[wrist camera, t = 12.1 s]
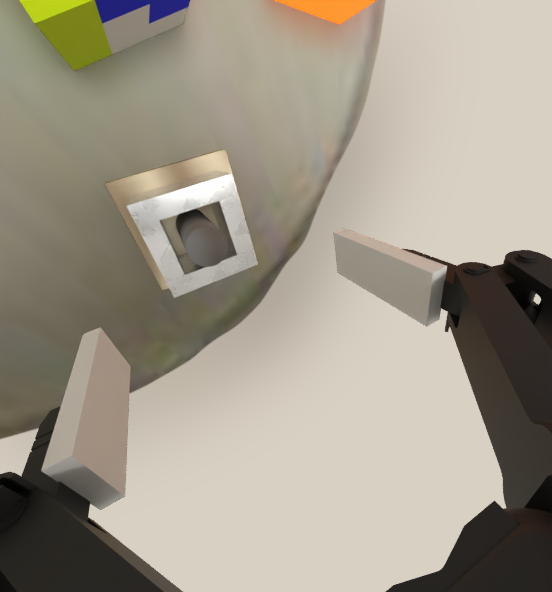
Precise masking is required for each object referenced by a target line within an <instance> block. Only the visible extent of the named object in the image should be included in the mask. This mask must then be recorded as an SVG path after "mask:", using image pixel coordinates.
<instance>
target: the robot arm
mask: <svg viewBox="0 0 552 592" xmlns="http://www.w3.org/2000/svg"><path fill="white" fill-rule="evenodd" d="M334 242H335V252H336V262H337V271H338V273H339V274H341V275H342V276H344V277H346V278H347V279H349V280H351V281H352V282H354V283H356V284H357V285H359V286H361V287H362V288H364V289H366V290H367V291H369V292H370V293H372V294H374V295H376V296H377V297H379V298H380V299H382V300H384V301H385V302H387V303H389V304H390V305H392V306H394V307H396V308H397V309H399V310H401V311H402V312H404V313H405V314H407V315H408V316H410V317H412V318H413V319H415V320H417V321H418V322H420V323H422V324H423V325H425V326H428V325H430V324H432V323H434V322H435V321H437V320H439V317H440V311H441V308H442V309H444V310H446V311H448V315H447V320H446V326H445V332H448V329H449V327H450V328H451V330H452V333H453V336H454V339H455V342H456V344H457V347H458V350H459V353H460V356H461V359H462V362H463V364H464V367H465V370H466V373H467V375H468V378H469V381H470V384H471V386H472V390H473V392H474V395H475V398H476V401H477V404H478V407H479V409H480V412H481V415H482V418H483V420H484V423H485V426H486V429H487V432H488V435H489V438H490V440H491V443H492V446H493V449H494V452H495V454H496V457H497V460H498V463H499V466H500V468H501V472H502V477H503V494H504V500H505V504H506V507H507V508H506V509H503V508H501V507H500V506H499V505H498V504H497V503H496V502H495V501H494V502H492V503H491V504H490V505H489V506H488V507H486V508H485V509H484V510H483V511H482V512H480V513H479V514H478V515H477V516H476V517H474V518H473V519H472V520H471V521H470V522H468V523H467V524H466V525H465V526H464V528H463V530H462V532H461V534H460V536H459V538H458V540H457V542H456V544H455V546H454V548H453V550H452V551H451V554H450V555H449V557H448V560H447V562H446V563H445V565H444V567H443V568H442V569H441V570H440V571H437V572H435V573H431V574H428V575H425V576H422V577H419V578H415V579H412V580H409V581H406V582H403V583H399V584H396V585H393V586H392V587H391V588H390V589H389V590H387V591H386V592H552V259H551V258H549V257H547V256H545V255H543V254H541V253H538V252H533V251H530V250H527V251H526V250H521V251H513V252H510V253H508V254H507V255H506V256H505V260H504V264H502V265H497V266H493V267H491V266H488V265H486V264H482V263H477V262H468V263H462V264H460V265H458V266H456V265H453V264H450V263H448V262H445V261H442V260H439V259H436V258H434V257H430V256H428V255H425V254H424V255H423V254H422V253H419V252H417V251H414V250H408V249H399V248H397V247H394V246H391V245H389V244H386V243H383V242H381V241H377V240H375V239H373V238H370V237H367V236H364V235H361V234H359V233H356V232H353V231H351V230H348V229H345V228H343V229H341V230H338V231H336V232H334ZM536 293H537V294H538V295H539V296H540V297H541V302H540V304H539V305H538V304H536V303H535V302H534V301H533V299H534V297H535V294H536ZM129 388H130V365H129V364H128V363H127V361H126V360H125V359H124V357H123V356H122V355H121V353H120V352H119V351H118V350H117V348H116V347H115V346H114V344H113V343H112V342H111V340H110V339H109V338H108V336H107V335H106V334H105V333H104V331H103V330H102V329H101V327H100V328H97V329H95V330H92V331H90V332H88V333H85V334H83V337H82V340H81V343H80V346H79V350H78V353H77V356H76V359H75V363H74V366H73V369H72V372H71V375H70V379H69V382H68V385H67V388H66V392H65V395H64V398H63V401H62V405H61V406H60V407H58V408H56V409H53V410H51V411H50V412H49V414H48V415H47V416H46V418H45V419H44V420H43V422H42V423H41V425H40V427H39V430H38V432H37V435H36V438H35V439H36V441H34V443H33V446H32V449H31V450H32V452H30V454H29V457H28V460H27V463H26V466H25V468H24V471H23V474H22V477H21V476H19V475H17V474H16V473H12V472H7V473H3V474H0V592H182V591H181V590H180V589H179V588H177V587H176V586H175V585H174V584H173V583H171V582H170V581H168V580H167V579H166V578H165V577H164V576H162V575H161V574H160V573H159V572H157V571H156V570H155V569H154V568H152V567H151V566H150V565H149V564H147V563H146V562H145V561H143V560H142V559H141V558H140V557H139V556H137V555H136V554H135V553H133V552H132V551H131V550H130V549H128V548H127V547H126V546H125V545H123V544H122V543H121V542H120V541H118V540H117V539H116V538H115V537H113V536H112V535H111V534H110V533H108V532H107V531H106V530H104V529H103V528H102V527H101V526H99V525H98V524H97V523H96V522H95V521H93V520H91V519H90V518H88V513H89V506H90V504H92V505H94V506H95V507H97V508H98V509H100V510H102V509H104V508H105V507H107V506H109V505H111V504H112V503H114V502H116V501H118V500H120V499H121V498H123V497H125V483H126V460H127V459H126V457H127V435H128V412H129Z"/></svg>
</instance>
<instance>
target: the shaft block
mask: <svg viewBox="0 0 552 592" xmlns="http://www.w3.org/2000/svg"><path fill="white" fill-rule="evenodd" d="M215 170H218V171H223V172H227V173H232V170H231V167H230V164H229V160H228V157H227V153H226V150H225V149H224V150H219V151H216V152H212V153H209V154H205V155H202V156H198V157H195V158H191V159H188V160H184V161H181V162H177V163H174V164H170V165H167V166H163V167H160V168H156V169H153V170H149V171H146V172H142V173H138V174H135V175H131V176H128V177H124V178H121V179H117V180H114V181H110V182H107V183H105V185H106V187H107V189H108V191H109V193H110V194H111V196H112V198H113V200H114V202H115V204H116V205H117V207H118V209H119V211H120V213H121V215H122V217H123V218H124V220H125V222H126V224H127V226H128V228H129V229H130V231H131V233H132V235H133V237H134V239H135V241H136V242H137V244H138V246H139V248H140V250H141V252H142V254H143V255H144V257H145V259H146V261H147V263H148V265H149V266H150V268H151V270H152V272H153V274H154V276H155V278H156V279H157V281H158V283H159V285H160V287H161V289H162V290H165V289H167V288H169V287H168V285H167V283H166V281H165V279H164V277H163V275H162V273H161V272H160V270H159V268H158V266H157V264H156V262H155V260H154V258H153V256H152V254H151V252H150V250H149V249H148V247H147V245H146V243H145V241H144V239H143V237H142V235H141V233H140V231H139V229H138V227H137V226H136V224H135V222H134V220H133V218H132V216H131V214H130V212H129V210H128V208H127V202H128V199H129V196H132V195H135V194H139V193H142V192H145V191H149V190H152V189H155V188H159V187H162V186H165V185H169V184H172V183H175V182H179V181H182V180H185V179H189V178H192V177H195V176H199V175H202V174H205V173H208V172H212V171H215ZM232 176H233V174H232ZM233 179H234V177H233ZM234 183H235V181H234ZM235 186H236V184H235ZM236 190H237V188H236ZM237 193H238V191H237ZM238 197H239V195H238ZM239 200H240V198H239ZM240 203H241V202H240ZM241 207H242V205H241ZM242 210H243V209H242ZM243 214H244V212H243ZM244 217H245V216H244ZM245 221H246V219H245ZM162 222H163V224H164V226H165V228H166V231H167V233H168V235H169V237H170V239H171V241H172V244H173V246H174V248H175V250H176V252H177V254H178V256H179V255H182V254H184V253H188V256H189V257H190V259H191V260H192V261H193V262H194V263H196V264H197V265H199V266H203V267H211V266H215V265H217V264H219V263H220V262H221V261H222V260H223V259H224V258H225V256H226V254H227V251H228V242H227V239H226V237H225V236H224V234H223V233H222V232H221V231H220V230H219V227H218V224H217V222H216V219H215V216H214V213H213V210H212V207H211V204H208V205H205V206H202V207H199V208H196V209H193V210H190V211H187V212H184V213H181V214H178V215H174V216H171V217H168V218H165V219H162ZM246 224H247V222H246ZM247 228H248V226H247ZM248 231H249V229H248ZM249 235H250V233H249ZM250 238H251V236H250ZM251 242H252V240H251ZM252 245H253V243H252ZM253 248H254V247H253ZM254 252H255V250H254Z"/></svg>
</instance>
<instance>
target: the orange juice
mask: <svg viewBox="0 0 552 592" xmlns="http://www.w3.org/2000/svg"><path fill="white" fill-rule="evenodd" d="M275 1H277V2H280V3H283V4H285V5H288V6H291V7H293V8H296V9H299V10H302V11H304V12H307V13H310V14H312V15H315V16H318V17H321V18H323V19H326V20H329V21H331V22H334V23H337V24H339V25H340V24H341V23H343V22H344V21H346V20H347V19H349V18H350V17H352V16H353V15H355V14H356V13H358V12H359V11H361V10H363V9H364V8H366V7H367V6H369V5H370V4H372V3H373V2H375V1H376V0H275Z"/></svg>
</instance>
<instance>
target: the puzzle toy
mask: <svg viewBox="0 0 552 592" xmlns="http://www.w3.org/2000/svg"><path fill="white" fill-rule="evenodd" d="M19 1H20V2H21V4H22V5H23V7H24V8H25V10H26V11H27V13H28V14H29V16H30V17H31V19H32V20H33V22H34V23H35V24H36V26H37V27H38V28H39V29H40V30H41V32H42V33H43V34H44V35H45V36H46V38H47V39H48V40H49V41H50V42H51V44H52V45H53V46H54V47H55V48H56V50H57V51H58V52H59V53H60V54H61V56H62V57H63V58H64V59H65V60H66V61H67V63H68V64H69V65H70V66H71V67H72V69H73V70H74V71H75V70H78V69H80V68H82V67H85V66H87V65H89V64H92V63H94V62H96V61H98V60H101V59H103V58H105V57H108V56H110V55H112V54H114V53H117V52H119V51H121V50H124V49H126V48H128V47H131V46H133V45H135V44H137V43H140V42H142V41H144V40H147V39H149V38H151V37H153V36H156V35H158V34H160V33H163V32H165V31H167V30H169V29H172V28H174V27H176V26H179V25H181V24H183V22H184V19H185V15H186V12H187V9H188V6H189V2H190V0H19Z"/></svg>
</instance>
